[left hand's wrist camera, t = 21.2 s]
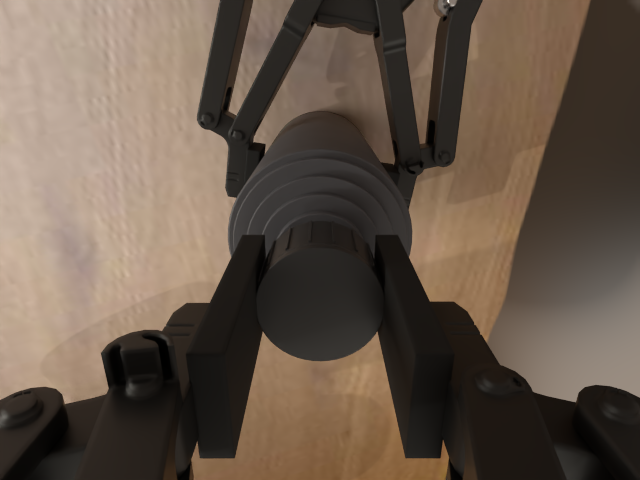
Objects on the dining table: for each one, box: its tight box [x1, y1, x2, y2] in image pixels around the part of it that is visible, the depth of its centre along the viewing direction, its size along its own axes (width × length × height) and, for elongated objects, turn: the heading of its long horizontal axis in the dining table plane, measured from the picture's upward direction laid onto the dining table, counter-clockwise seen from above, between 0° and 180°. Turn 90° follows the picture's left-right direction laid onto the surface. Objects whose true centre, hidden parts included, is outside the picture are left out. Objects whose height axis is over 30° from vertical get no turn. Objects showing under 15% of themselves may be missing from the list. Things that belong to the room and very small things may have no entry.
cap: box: [256, 220, 384, 361], centre depth 14 cm, size 4×4×2 cm
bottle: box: [228, 111, 412, 258], centre depth 23 cm, size 8×8×21 cm
